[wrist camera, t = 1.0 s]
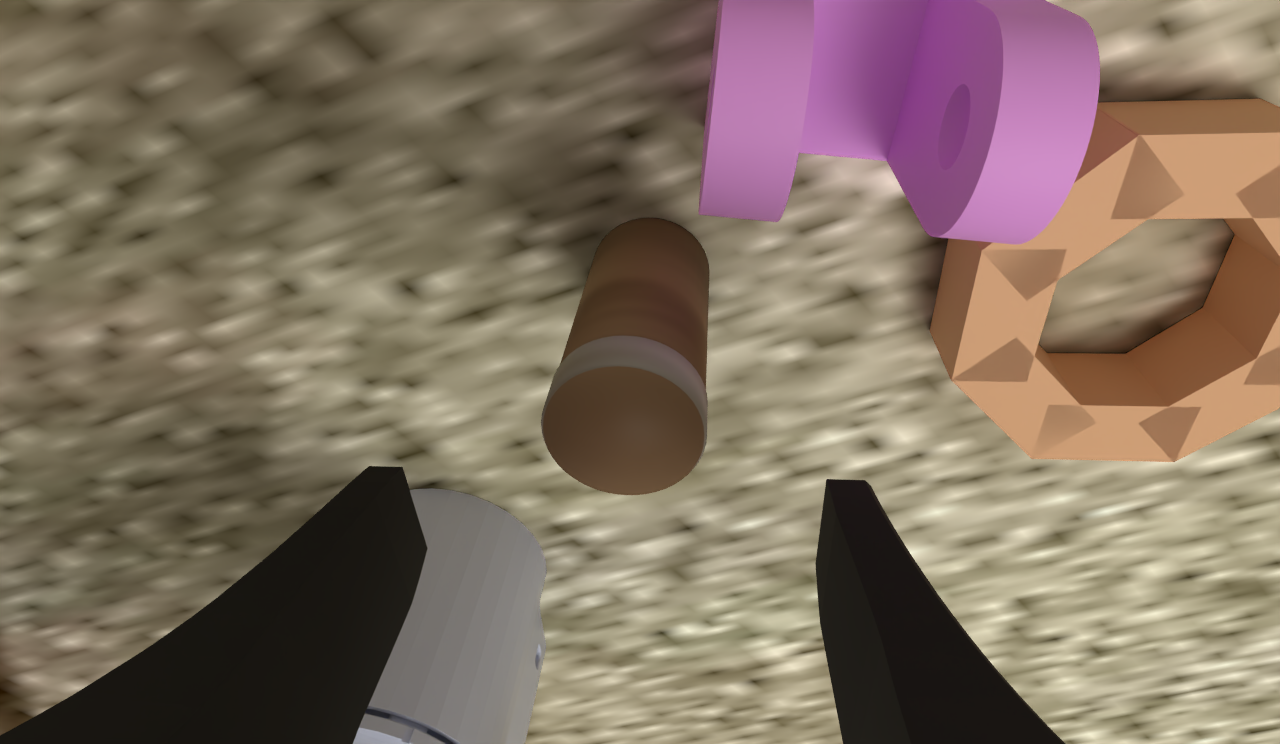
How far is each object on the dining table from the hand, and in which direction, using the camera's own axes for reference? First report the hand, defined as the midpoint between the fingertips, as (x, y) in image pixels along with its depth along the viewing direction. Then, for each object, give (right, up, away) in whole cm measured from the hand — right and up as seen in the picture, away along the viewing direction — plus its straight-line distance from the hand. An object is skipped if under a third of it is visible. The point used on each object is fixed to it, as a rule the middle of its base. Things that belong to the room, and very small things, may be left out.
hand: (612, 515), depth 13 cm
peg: (+1, +5, +8) cm, 9 cm away
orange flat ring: (+13, +5, +6) cm, 15 cm away
